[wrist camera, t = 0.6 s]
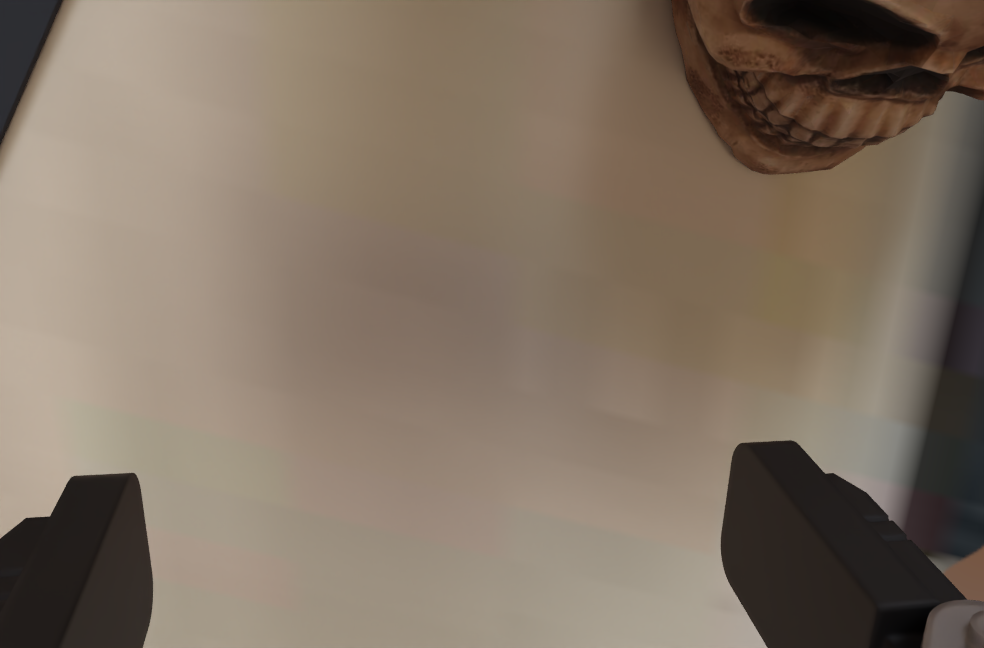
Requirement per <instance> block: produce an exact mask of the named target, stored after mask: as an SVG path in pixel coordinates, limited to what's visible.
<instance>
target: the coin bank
mask: <svg viewBox="0 0 984 648" xmlns="http://www.w3.org/2000/svg"><path fill="white" fill-rule="evenodd" d="M671 1H672V10H673V18H674V24H675V29H676V35H677V37H678V40H679V43H680V46H681V49H682V53H683V58H684V63H685V68H686V76H687V81H688V83H689V85H690V86H691V88H692V90H693V92H694V94H695V96H696V98H697V100H698V102H699V104H700V106H701V108H702V110H703V111H704V113H705V114H706V116H707V117H708V119H709V120H710V121H711V123H712V124H713V126H714V127H715V129H716V131H717V133H718V135H719V136H720V137H721V138H722V139H723V140H724V141H725V142H726V143H727V144H728V145H730V146H731V148H732V151H733V154H734V156H735V157H736V158H737V159H738V160H740V161H741V162H742V163H743V164H745V165H746V166H747V167H748V168H750V169H751V170H753V171H756V172H759V173H762V174H789V173H800V172H809V171H818V170H827V169H832V168H833V167H835V166H836V165H838V164H840V163H841V162H843V161H844V160H846V159H847V158H849V157H851V156H852V155H854V154H855V153H857V152H859V151H860V150H862V149H863V148H864V147H865V146H866V145H878V144H879V143H881V142H883V141H885V140H887V139H888V138H891V137H895V136H896V135H898V134H901V133H903V132H905V131H906V130H907V129H908V128H910V127H911V126H913V125H915V124H917V123H918V122H919V121H920V119H921V118H922V117H925V116H929V115H932V114H933V113H934V111H935V110H936V107H937V104H938V101H939V100H940V99H941V98H942V96H943V95H944V93H945V91H954V92H958V93H962V94H965V95H967V96H970V97H973V98H976V99H979V100H984V0H671Z"/></svg>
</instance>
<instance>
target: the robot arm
mask: <svg viewBox="0 0 984 648" xmlns="http://www.w3.org/2000/svg"><path fill="white" fill-rule="evenodd" d="M721 556H722V562H723V567H724V571H725V574H726V577H727V579H728V582H729V583H730V585H731V587H732V589H733V590H734V592H735V594H736V595H737V597H738V599H739V600H740V602H741V604H742V605H743V607H744V609H745V610H746V612H747V614H748V616H749V617H750V619H751V621H752V622H753V624H754V626H755V627H756V629H757V631H758V632H759V634H760V636H761V637H762V639H763V641H764V642H765V644H766V646H767V647H768V648H984V602H982V601H976V600H967V599H966V598H965V597H964V596H963V595H962V593H961V592H959V590H958V589H957V588H956V587H955V586H954V585H953V584H952V583H951V582H950V581H949V580H948V579H947V578H946V576H945V575H944V574H943V573H942V572H941V571H940V570H939V569H938V568H937V567H936V566H935V565H934V564H933V563H932V562H931V561H930V560H929V558H928V557H927V556H926V555H925V554H924V553H923V552H922V551H921V550H920V549H919V548H918V547H917V546H916V545H915V544H914V543H913V542H912V540H907V538H906V534H905V533H904V532H903V531H902V530H901V529H900V528H899V527H898V526H897V525H896V524H895V522H894V521H889V519H888V515H887V514H886V513H885V512H884V511H883V510H882V509H881V508H880V507H879V506H878V504H877V503H876V502H875V501H874V500H873V499H872V498H871V497H870V496H869V495H868V494H867V493H866V492H864V491H863V490H861V489H859V488H858V487H856V486H854V485H852V484H851V483H849V482H847V481H846V480H844V479H842V478H841V477H839V476H837V475H835V474H834V473H830V474H825V473H824V472H823V471H822V470H821V469H820V468H819V467H818V465H817V464H816V463H815V462H814V461H813V460H812V459H811V458H810V457H809V455H808V454H807V453H806V452H805V451H804V450H803V449H802V448H801V447H800V445H798V444H797V443H796V442H794V441H791V440H790V441H771V442H751V443H740V444H739V445H738V446H737V447H736V448H735V451H734V453H733V457H732V462H731V469H730V476H729V484H728V491H727V498H726V505H725V512H724V519H723V526H722V534H721ZM152 603H153V577H152V568H151V561H150V553H149V546H148V539H147V531H146V524H145V517H144V510H143V502H142V495H141V489H140V484H139V480H138V478H137V476H136V474H135V473H123V474H103V475H84V476H73V477H71V478H70V480H69V481H68V483H67V485H66V487H65V489H64V491H63V493H62V495H61V497H60V498H59V500H58V502H57V504H56V506H55V508H54V510H53V512H52V514H51V516H50V517H35V518H26V519H24V520H23V521H22V522H21V523H19V524H18V525H17V526H16V527H14V528H13V529H12V530H11V531H9V532H8V533H7V534H6V535H4V536H3V537H2V538H1V539H0V648H143V644H144V641H145V638H146V634H147V631H148V627H149V623H150V619H151V612H152Z"/></svg>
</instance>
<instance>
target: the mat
mask: <svg viewBox="0 0 984 648" xmlns="http://www.w3.org/2000/svg"><path fill="white" fill-rule="evenodd" d="M61 3H62V0H0V144H1V142H2V140H3V137H4V135H5V133H6V130H7V128H8V126H9V123H10V121H11V119H12V116H13V114H14V112H15V109H16V107H17V105H18V102H19V100H20V98H21V95H22V93H23V91H24V88H25V86H26V84H27V82H28V79H29V77H30V75H31V72H32V70H33V68H34V65H35V63H36V61H37V58H38V56H39V54H40V51H41V49H42V47H43V44H44V42H45V40H46V37H47V35H48V33H49V30H50V28H51V26H52V23H53V21H54V19H55V16H56V14H57V12H58V10H59V7H60V5H61Z"/></svg>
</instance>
